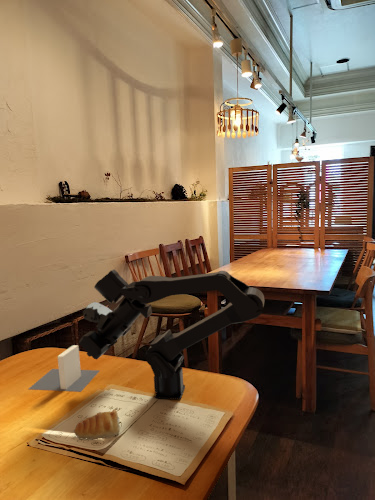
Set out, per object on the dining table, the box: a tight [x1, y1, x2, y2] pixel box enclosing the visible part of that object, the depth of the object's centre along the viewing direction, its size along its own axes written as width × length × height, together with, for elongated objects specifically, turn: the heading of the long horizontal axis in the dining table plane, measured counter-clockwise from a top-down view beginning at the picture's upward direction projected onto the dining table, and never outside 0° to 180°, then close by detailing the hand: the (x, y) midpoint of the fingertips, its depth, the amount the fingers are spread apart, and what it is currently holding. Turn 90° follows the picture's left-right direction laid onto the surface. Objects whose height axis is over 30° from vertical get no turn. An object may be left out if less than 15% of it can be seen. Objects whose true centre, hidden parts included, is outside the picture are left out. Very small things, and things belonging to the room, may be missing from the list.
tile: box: [57, 344, 82, 389], centre depth 100 cm, size 2×8×9 cm, turn 166°
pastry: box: [74, 409, 121, 440], centre depth 79 cm, size 9×7×4 cm
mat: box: [28, 368, 100, 393], centre depth 102 cm, size 15×12×1 cm
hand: (88, 354), depth 98 cm, fingers closed
